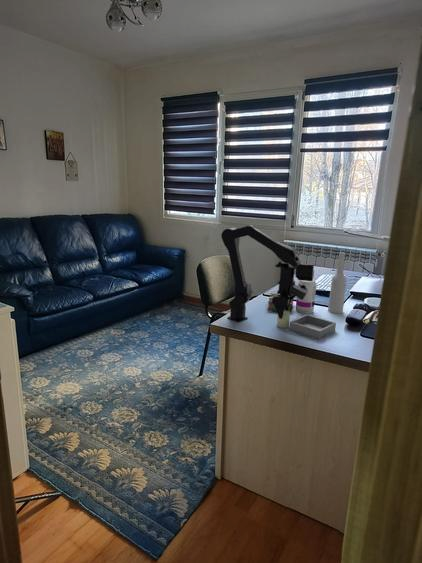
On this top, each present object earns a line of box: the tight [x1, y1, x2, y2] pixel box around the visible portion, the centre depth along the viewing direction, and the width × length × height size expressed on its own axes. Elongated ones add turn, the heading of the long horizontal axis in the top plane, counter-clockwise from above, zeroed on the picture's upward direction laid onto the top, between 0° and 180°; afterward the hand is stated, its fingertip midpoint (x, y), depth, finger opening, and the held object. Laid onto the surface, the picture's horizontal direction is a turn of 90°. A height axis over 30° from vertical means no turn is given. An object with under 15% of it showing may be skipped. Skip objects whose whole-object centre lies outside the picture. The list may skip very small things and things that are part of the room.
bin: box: [288, 314, 337, 340], centre depth 144 cm, size 13×13×4 cm
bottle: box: [327, 251, 347, 315], centre depth 166 cm, size 7×7×28 cm
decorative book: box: [267, 293, 294, 313], centre depth 173 cm, size 11×16×5 cm
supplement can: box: [295, 279, 317, 314], centre depth 167 cm, size 8×8×15 cm
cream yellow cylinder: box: [276, 310, 291, 329], centre depth 148 cm, size 5×5×6 cm
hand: (283, 315), depth 148 cm, fingers open, 9 cm apart
